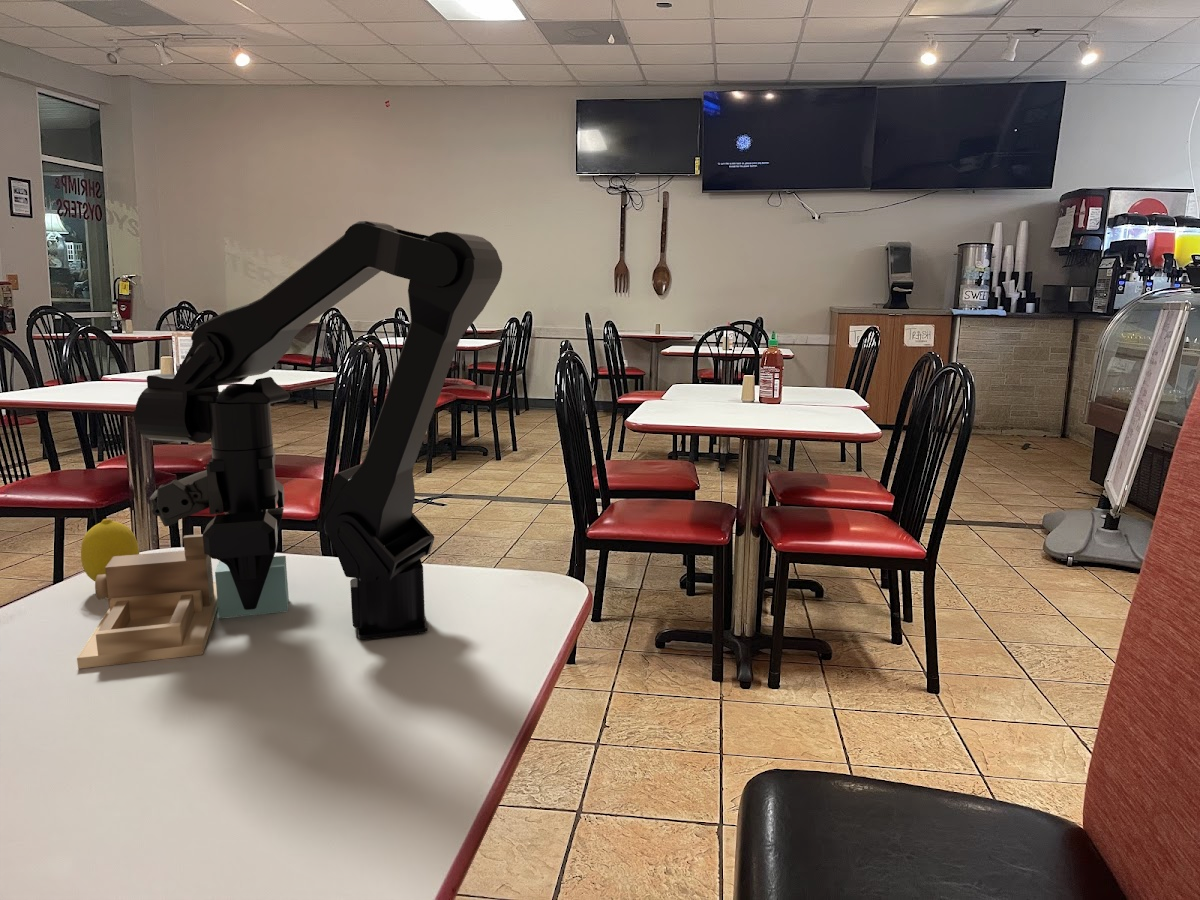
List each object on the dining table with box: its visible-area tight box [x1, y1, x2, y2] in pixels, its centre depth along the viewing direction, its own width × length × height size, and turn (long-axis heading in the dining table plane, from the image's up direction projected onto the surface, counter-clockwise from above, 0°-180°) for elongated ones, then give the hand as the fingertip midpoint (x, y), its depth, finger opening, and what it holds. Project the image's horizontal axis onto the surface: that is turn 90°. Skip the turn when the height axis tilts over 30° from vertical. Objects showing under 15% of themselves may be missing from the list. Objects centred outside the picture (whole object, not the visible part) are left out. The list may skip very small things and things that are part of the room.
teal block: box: [214, 555, 290, 619], centre depth 88 cm, size 4×6×5 cm, turn 108°
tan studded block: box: [94, 533, 214, 607], centre depth 86 cm, size 10×4×7 cm, turn 108°
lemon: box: [80, 518, 140, 582], centre depth 93 cm, size 6×6×8 cm
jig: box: [76, 581, 218, 670], centre depth 84 cm, size 10×17×3 cm, turn 18°
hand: (253, 593), depth 88 cm, fingers open, 9 cm apart
